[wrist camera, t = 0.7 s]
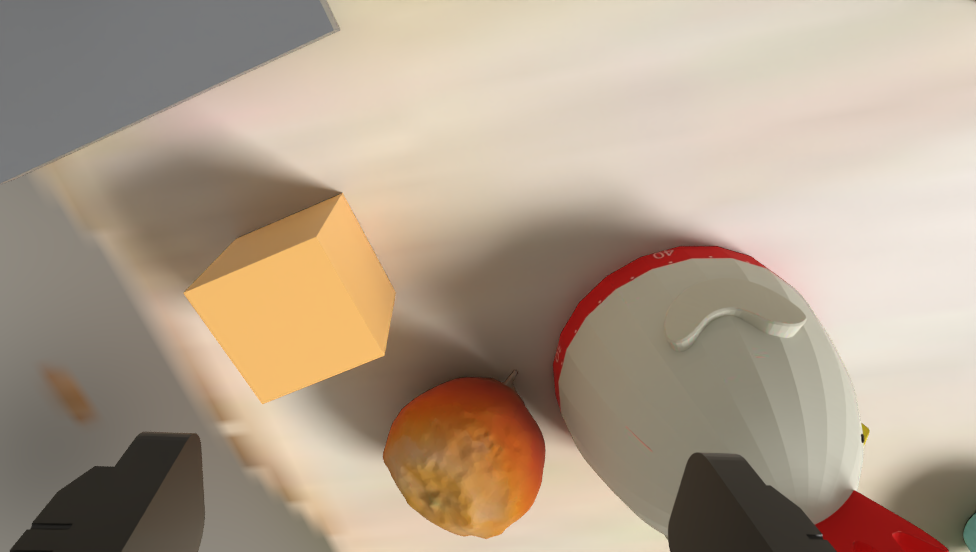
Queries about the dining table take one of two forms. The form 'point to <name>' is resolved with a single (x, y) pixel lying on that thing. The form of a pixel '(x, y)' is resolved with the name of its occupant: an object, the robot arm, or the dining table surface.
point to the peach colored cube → (297, 300)
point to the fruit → (467, 455)
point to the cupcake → (970, 533)
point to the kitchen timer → (718, 392)
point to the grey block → (128, 63)
